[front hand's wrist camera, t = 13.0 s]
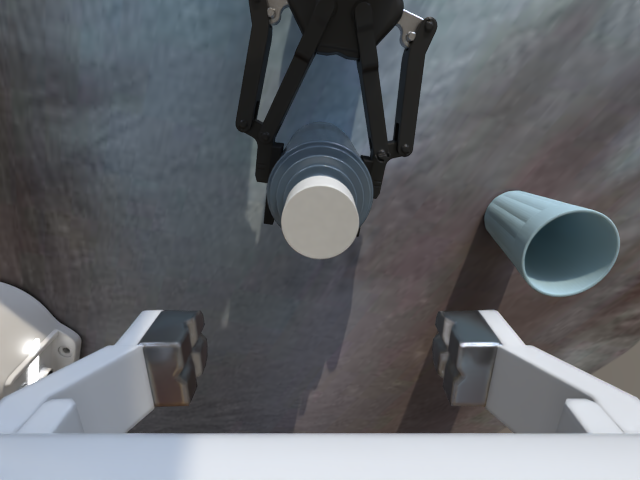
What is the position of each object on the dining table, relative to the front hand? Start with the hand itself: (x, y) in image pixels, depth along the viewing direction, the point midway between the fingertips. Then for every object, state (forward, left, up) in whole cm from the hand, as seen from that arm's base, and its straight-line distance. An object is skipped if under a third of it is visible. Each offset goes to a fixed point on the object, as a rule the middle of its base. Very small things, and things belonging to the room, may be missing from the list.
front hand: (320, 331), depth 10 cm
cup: (-3, -21, -30) cm, 36 cm away
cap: (0, 0, -9) cm, 9 cm away
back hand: (-5, 0, -23) cm, 24 cm away
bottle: (0, 0, -30) cm, 30 cm away
